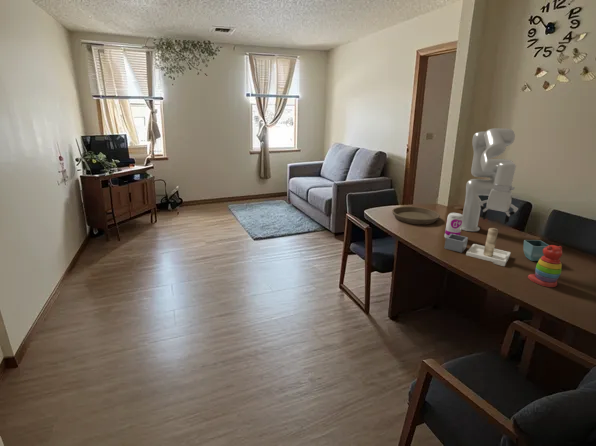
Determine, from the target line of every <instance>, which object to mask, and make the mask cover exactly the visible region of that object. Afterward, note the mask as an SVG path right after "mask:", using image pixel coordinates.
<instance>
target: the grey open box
mask: <svg viewBox="0 0 596 446" xmlns="http://www.w3.org/2000/svg"><path fill="white" fill-rule="evenodd" d="M468 240H469V237H468V236H464V235H461V234H460V235H456V234H450V235H449V236H448V237H447V238H445V242H444V246H443V247H444V249H445V250H450V251H453V252H458V253H461V254H462V253H463V252H464V251H465V250H466V249H467V246H468Z"/></svg>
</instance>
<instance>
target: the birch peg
mask: <svg viewBox="0 0 596 446" xmlns="http://www.w3.org/2000/svg"><path fill="white" fill-rule="evenodd" d="M498 233H499V229H497V228H495V227H489V228H488V230H487V235H486V238H485V239H486V240H485V244H484V246H485V248H484V253H483V254H484V255H485V256H489V257H492V256H493V252H494V249H496V248H495V247H496V243H497V239H498V235H499V234H498Z"/></svg>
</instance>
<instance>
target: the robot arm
mask: <svg viewBox="0 0 596 446" xmlns="http://www.w3.org/2000/svg"><path fill="white" fill-rule="evenodd" d="M515 138H516V133H515V131H514V130H513V129H511V128H501V127H499V128H498V127H496V128H494V127H493V128H489V129H487V130H486V131H477V132H475V133H474V134H473V136H472V139H471V140H472V141H471V142H472V143H471V144H472V149H473V157H472V162H471V163H472V164H471V169H470V172H471V175H472V176H473V177H477V178H471V179H469V180H468V181H467V182H466V183H465V199H464V205H463V210H462V216H463V222H462V228H461V231H466V232H472V233H473V232H475V233H476V232H479V231H480V229H481V228H480V226H478V225H479V220H480V215H481V210H482V212H483V213H482V220H485V219H486V218H487V214H488V210H492V211H496V212H503V213H505V215H506V216H505V219H504V224H505V225H506V224H507V223H509V220H510V216H512V215H514V214H516V213H517V211H518V210H519V207H517V206H515V205H514V204H513V203H512V200H513V199H512V198H513V191H515V186H513V181H514V177H515V173H516V168H517V165H516V163H514V162H513V161H512V160H511V159H502V158H501V159H500V158H496V157H498V156H499V157H500V156H501V155H502V154H504V153H505V151H506V147H509V146H511V145H512V144H513V143H514V142H515ZM481 178H483V179H481ZM484 178H486V179H484ZM487 178H489V179H487ZM479 196H488V197H487V198H488V199H485V200H481V198H480V197H479ZM484 204H486V206H484ZM510 209H512V211H511V212H510Z"/></svg>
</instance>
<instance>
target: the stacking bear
mask: <svg viewBox="0 0 596 446" xmlns="http://www.w3.org/2000/svg"><path fill="white" fill-rule="evenodd" d="M548 245H549V246H547V247H545V248H544V249H543V254H544V256H542V257H541V258H540V260H539V261H537V263H536V266H535V273H531V274H528V276H527V279H529V280H530V281H531V282H533V283H535V284H537V285H540V286H543V287H545V288H546V287H547V288H554V287H555V288H556V287H557V286H558V279H559V277H561V275H562V274H561V273H562V266H563V265H562V262H561V257H562V255H563V246H561V245H559V246H558V245H555V244H548Z"/></svg>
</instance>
